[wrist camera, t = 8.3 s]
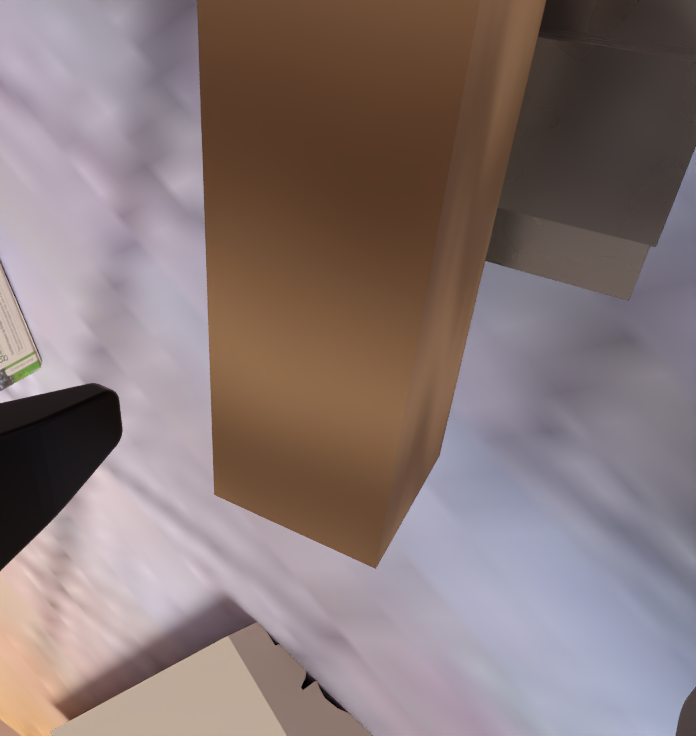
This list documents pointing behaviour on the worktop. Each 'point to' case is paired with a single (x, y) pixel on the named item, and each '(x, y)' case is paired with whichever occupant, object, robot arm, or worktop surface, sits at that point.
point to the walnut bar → (348, 242)
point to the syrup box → (14, 340)
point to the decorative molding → (221, 697)
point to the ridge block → (599, 141)
